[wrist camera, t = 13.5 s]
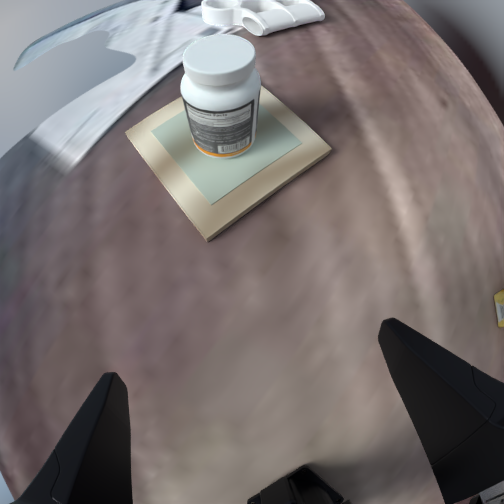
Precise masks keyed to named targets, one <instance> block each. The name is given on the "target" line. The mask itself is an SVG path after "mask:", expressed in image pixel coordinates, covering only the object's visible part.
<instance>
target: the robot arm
mask: <svg viewBox="0 0 504 504" xmlns="http://www.w3.org/2000/svg"><path fill="white" fill-rule="evenodd" d="M378 341H379V344H380V347H381V350H382V352H383V355H384V358H385V360H386V363H387V366H388V369H389V372H390V374H391V377H392V379H393V381H394V384H395V386H396V388H397V390H398V392H399V394H400V396H401V398H402V400H403V402H404V405H405V407H406V409H407V411H408V413H409V415H410V418H411V420H412V422H413V424H414V427H415V429H416V431H417V433H418V436H419V438H420V440H421V443H422V445H423V447H424V450H425V452H426V455H427V457H428V459H429V462H430V464H431V467H432V470H433V472H434V475H435V477H436V480H437V483H438V485H439V488H440V491H441V493H442V496H443V499H444V502H445V504H454V503H456V502H459V501H461V500H464V499H466V498H469V497H471V496H473V495H476V494H477V495H476V496H474V497H473V498H472V499H471V500H470V503H469V504H504V383H502V382H500V381H498V380H496V379H494V378H492V377H491V376H489V375H487V374H485V373H484V372H482V371H480V370H479V369H477V368H476V367H474V366H471V364H469V363H467V362H466V361H464V360H463V359H461V358H459V357H458V356H456V355H455V354H453V353H451V352H450V351H448V350H447V349H445V348H443V347H442V346H440V345H438V344H437V343H435V342H434V341H432V340H430V339H429V338H427V337H425V336H424V335H422V334H420V333H419V332H417V331H416V330H414V329H412V328H411V327H409V326H407V325H406V324H404V323H402V322H401V321H399V320H397V319H396V318H389V319H386V320H383V322H382V324H381V328H380V331H379V335H378ZM303 470H306V471H305V472H302V471H303ZM337 499H339V500H337ZM336 500H337V501H336ZM343 500H344V498H343V497H342V495H340V494H339V493H338V492H337V491H336V490H334V489H333V488H332V487H331V486H330V485H328V484H327V483H326V482H325V481H324V480H323V479H321V478H320V477H319V476H318V475H317V474H316V473H315V472H314V471H312V470H311V469H310V468H309V467H308V466H305V465H304V466H301V467H299V468H298V469H296V470H295V471H293V472H292V473H290V474H289V475H287V476H286V477H282V478H281V479H279V480H278V481H276V482H275V483H273V484H271V485H270V486H268V487H266V488H265V489H263V490H261V491H260V493H258V494H257V495H255V496H253V497H251V498H250V499H248V501H247V504H340V503H342V502H343ZM251 502H255V503H251ZM10 504H133V499H132V482H131V429H130V417H129V405H128V391H127V387H126V385H125V383H124V382H123V381H122V380H121V378H120V377H119V376H118V374H117V373H115V372H107V373H104V374H103V375H102V377H101V378H100V380H99V381H98V383H97V384H96V385H95V387H94V388H93V390H92V391H91V393H90V394H89V396H88V397H87V399H86V400H85V402H84V403H83V405H82V406H81V408H80V409H79V411H78V412H77V414H76V415H75V417H74V418H73V420H72V421H71V423H70V424H69V426H68V428H67V429H66V431H65V432H64V434H63V435H62V437H61V439H60V440H59V442H58V443H57V445H56V446H55V449H54V450H53V451H52V453H51V454H50V456H49V458H48V459H47V461H46V462H45V464H44V465H43V467H42V468H41V470H40V471H39V472H38V474H37V475H36V477H35V478H34V479H33V480H32V482H31V483H30V484H29V486H28V487H27V488H26V490H25V491H24V492H23V494H22V495H21V496H20V497H19V498H18V499H17V500H16V501H14V502H12V503H10ZM342 504H352V503H351V502H350V501H349V500H347V501H346V502H344V503H342Z"/></svg>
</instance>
